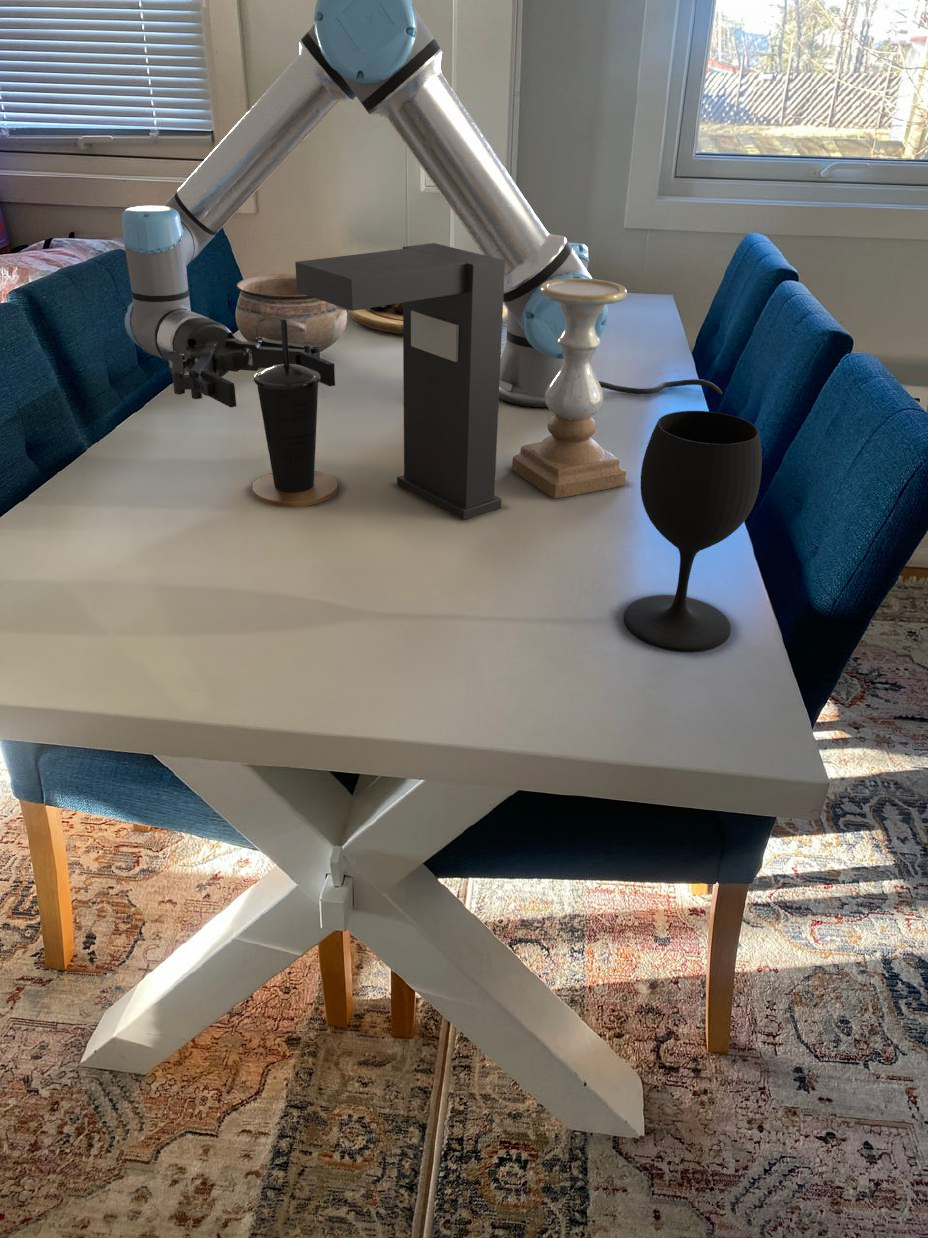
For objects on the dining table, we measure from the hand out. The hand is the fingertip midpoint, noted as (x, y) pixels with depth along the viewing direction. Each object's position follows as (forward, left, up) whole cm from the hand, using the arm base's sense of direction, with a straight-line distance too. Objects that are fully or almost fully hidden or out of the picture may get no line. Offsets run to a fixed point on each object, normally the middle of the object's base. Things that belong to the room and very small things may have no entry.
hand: (284, 384), depth 115 cm
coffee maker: (-14, +6, -13) cm, 20 cm away
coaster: (-1, +1, -13) cm, 13 cm away
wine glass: (-42, +32, -13) cm, 54 cm away
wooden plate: (-15, -88, -13) cm, 90 cm away
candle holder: (-35, -5, -13) cm, 38 cm away
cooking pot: (+8, -58, -13) cm, 60 cm away
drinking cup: (-1, +1, -12) cm, 12 cm away
